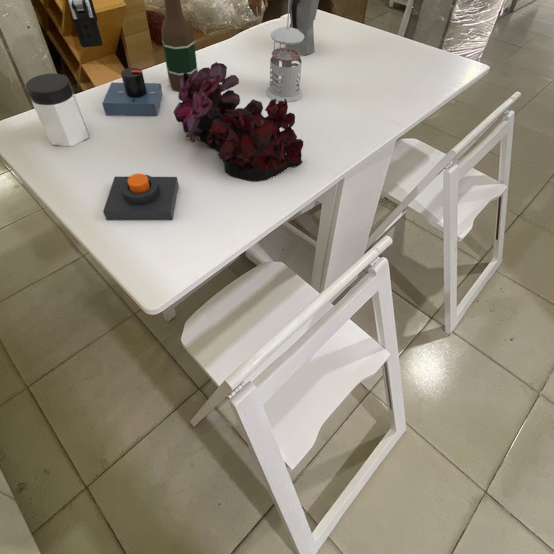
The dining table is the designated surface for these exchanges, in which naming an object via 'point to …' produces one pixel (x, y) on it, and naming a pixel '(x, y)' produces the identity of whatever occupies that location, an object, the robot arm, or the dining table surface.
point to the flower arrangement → (237, 126)
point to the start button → (138, 183)
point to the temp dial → (134, 82)
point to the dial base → (132, 101)
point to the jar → (57, 109)
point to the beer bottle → (177, 44)
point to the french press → (285, 65)
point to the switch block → (142, 200)
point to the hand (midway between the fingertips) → (90, 33)
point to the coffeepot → (303, 23)
